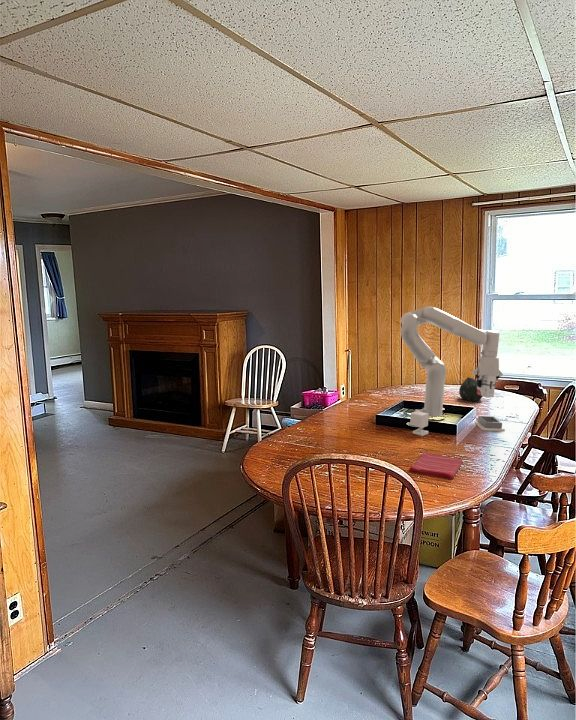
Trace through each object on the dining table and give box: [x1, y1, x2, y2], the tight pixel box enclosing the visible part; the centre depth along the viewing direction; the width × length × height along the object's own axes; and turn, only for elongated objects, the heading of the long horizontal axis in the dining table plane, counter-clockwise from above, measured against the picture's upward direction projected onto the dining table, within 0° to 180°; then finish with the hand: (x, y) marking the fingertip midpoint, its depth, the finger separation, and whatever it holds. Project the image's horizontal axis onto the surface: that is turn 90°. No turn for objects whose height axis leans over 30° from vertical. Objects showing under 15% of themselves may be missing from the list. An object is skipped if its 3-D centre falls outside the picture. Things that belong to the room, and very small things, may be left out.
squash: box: [458, 376, 484, 402], centre depth 334 cm, size 14×15×15 cm
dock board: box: [474, 415, 506, 432], centre depth 275 cm, size 11×13×4 cm
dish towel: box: [408, 451, 463, 481], centre depth 215 cm, size 17×24×3 cm
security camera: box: [409, 411, 429, 437], centre depth 260 cm, size 6×7×10 cm
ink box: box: [477, 375, 496, 398], centre depth 284 cm, size 8×5×12 cm, turn 17°
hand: (485, 387), depth 284 cm, fingers closed on ink box, 6 cm apart
